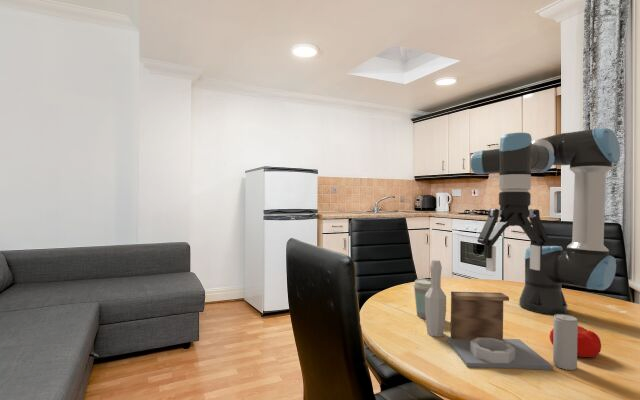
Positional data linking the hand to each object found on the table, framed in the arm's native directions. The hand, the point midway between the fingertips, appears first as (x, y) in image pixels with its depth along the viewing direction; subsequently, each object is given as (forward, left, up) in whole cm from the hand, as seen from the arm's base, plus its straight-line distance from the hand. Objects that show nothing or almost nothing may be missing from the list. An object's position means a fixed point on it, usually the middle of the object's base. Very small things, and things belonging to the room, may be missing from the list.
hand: (513, 270), depth 97 cm
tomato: (-16, 0, -22) cm, 27 cm away
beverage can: (-8, +9, -22) cm, 25 cm away
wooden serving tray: (+8, -2, -21) cm, 23 cm away
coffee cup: (+17, -26, -22) cm, 38 cm away
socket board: (+6, +3, -21) cm, 22 cm away
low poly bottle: (+18, -10, -22) cm, 30 cm away
